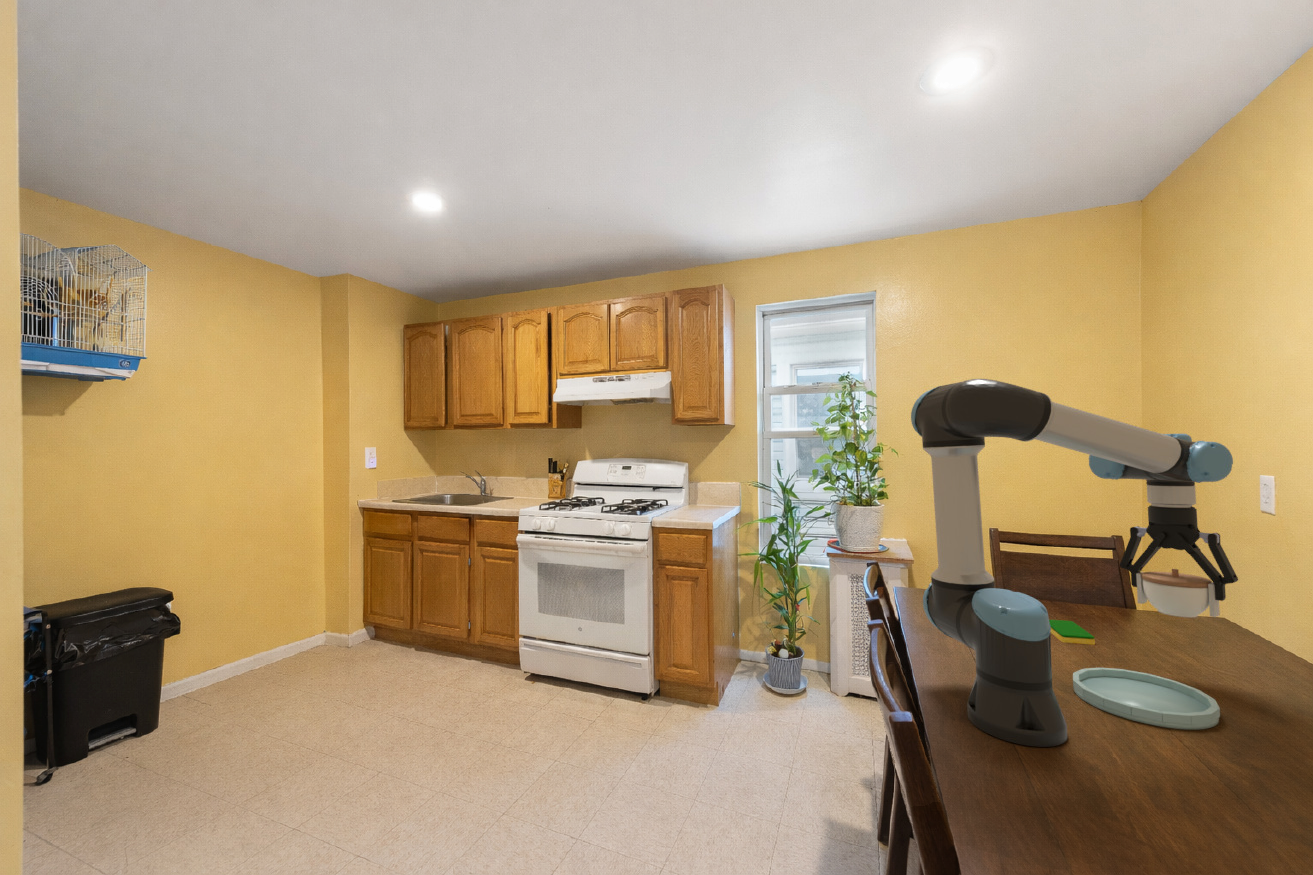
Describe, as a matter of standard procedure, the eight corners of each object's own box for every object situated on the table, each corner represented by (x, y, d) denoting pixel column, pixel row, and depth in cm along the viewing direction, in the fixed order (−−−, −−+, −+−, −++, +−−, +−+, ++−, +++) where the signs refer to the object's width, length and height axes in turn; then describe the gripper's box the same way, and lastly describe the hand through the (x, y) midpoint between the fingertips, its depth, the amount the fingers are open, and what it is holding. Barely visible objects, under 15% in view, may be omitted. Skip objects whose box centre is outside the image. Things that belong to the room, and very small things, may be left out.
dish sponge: (1072, 629, 147) (1072, 620, 148) (1095, 646, 134) (1095, 636, 134) (1042, 627, 150) (1042, 618, 150) (1062, 644, 137) (1062, 634, 137)
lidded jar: (1182, 606, 117) (1179, 564, 117) (1229, 621, 106) (1227, 574, 106) (1130, 606, 118) (1128, 563, 118) (1172, 620, 107) (1169, 574, 108)
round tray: (1194, 741, 90) (1193, 726, 90) (1053, 694, 108) (1053, 681, 108) (1236, 710, 100) (1235, 696, 100) (1100, 671, 118) (1100, 660, 118)
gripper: (1256, 508, 105) (1263, 620, 104) (1112, 500, 125) (1117, 594, 124) (1244, 510, 101) (1251, 626, 100) (1097, 502, 121) (1102, 599, 120)
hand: (1177, 608), depth 112 cm, fingers closed on lidded jar, 11 cm apart
